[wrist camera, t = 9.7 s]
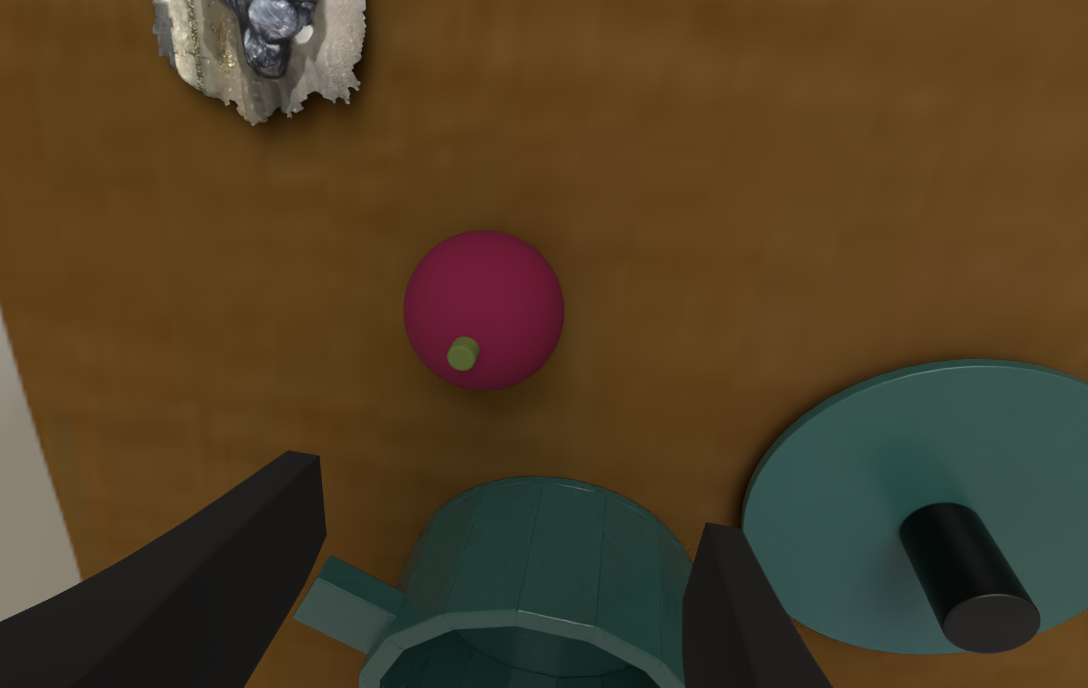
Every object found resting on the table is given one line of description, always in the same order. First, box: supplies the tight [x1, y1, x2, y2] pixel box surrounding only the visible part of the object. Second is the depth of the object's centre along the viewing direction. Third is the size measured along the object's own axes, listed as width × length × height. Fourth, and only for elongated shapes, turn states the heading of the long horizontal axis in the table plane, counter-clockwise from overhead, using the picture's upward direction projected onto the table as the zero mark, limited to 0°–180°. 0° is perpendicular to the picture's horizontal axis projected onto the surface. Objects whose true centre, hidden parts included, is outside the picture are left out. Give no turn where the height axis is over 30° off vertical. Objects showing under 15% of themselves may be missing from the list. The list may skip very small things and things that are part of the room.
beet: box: [404, 231, 564, 391], centre depth 18 cm, size 4×4×5 cm
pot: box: [294, 476, 693, 688], centre depth 23 cm, size 11×17×6 cm
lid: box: [741, 359, 1088, 654], centre depth 20 cm, size 12×12×5 cm
